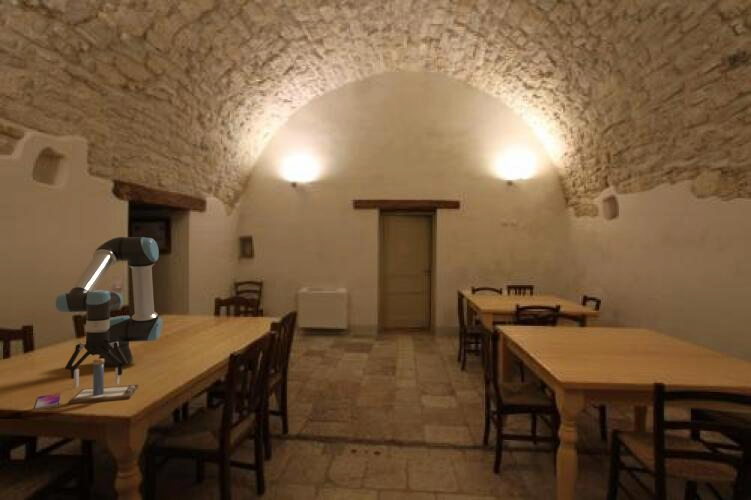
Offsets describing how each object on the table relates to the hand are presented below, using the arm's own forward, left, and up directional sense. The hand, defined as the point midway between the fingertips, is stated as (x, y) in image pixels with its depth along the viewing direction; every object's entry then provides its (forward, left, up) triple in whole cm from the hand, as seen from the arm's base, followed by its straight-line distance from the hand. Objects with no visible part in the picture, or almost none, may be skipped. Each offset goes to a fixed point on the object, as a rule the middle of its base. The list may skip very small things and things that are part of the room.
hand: (97, 385), depth 156 cm
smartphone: (-1, -16, -6) cm, 17 cm away
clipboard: (-3, +2, -5) cm, 6 cm away
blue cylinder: (-1, 0, -4) cm, 4 cm away
